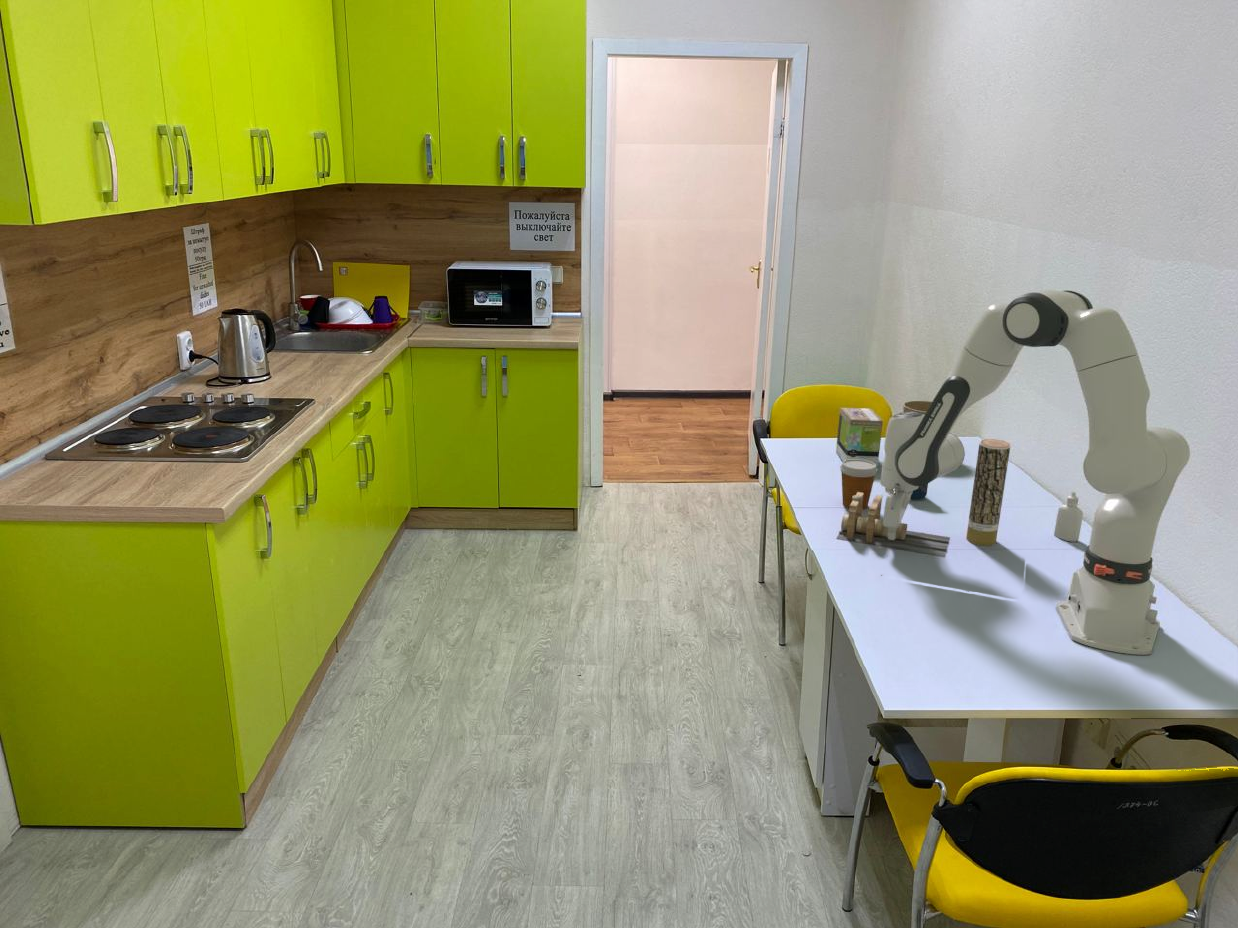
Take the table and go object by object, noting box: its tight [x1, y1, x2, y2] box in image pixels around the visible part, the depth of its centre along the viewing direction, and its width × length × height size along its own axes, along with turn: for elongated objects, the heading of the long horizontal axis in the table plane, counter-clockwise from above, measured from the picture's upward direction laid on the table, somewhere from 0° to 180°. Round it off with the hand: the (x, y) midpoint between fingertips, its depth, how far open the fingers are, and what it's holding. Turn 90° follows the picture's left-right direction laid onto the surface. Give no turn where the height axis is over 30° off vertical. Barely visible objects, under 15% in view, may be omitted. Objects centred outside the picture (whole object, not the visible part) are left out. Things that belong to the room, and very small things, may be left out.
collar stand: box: [835, 492, 951, 558], centre depth 229 cm, size 13×25×10 cm, turn 67°
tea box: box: [835, 407, 884, 468], centre depth 289 cm, size 15×10×15 cm, turn 179°
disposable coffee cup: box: [839, 459, 878, 510], centre depth 250 cm, size 10×10×12 cm
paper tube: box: [965, 438, 1011, 547], centre depth 227 cm, size 7×7×25 cm
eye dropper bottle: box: [1053, 491, 1084, 543], centre depth 232 cm, size 4×6×12 cm
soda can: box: [910, 483, 929, 501], centre depth 258 cm, size 7×7×12 cm
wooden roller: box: [840, 514, 908, 540], centre depth 232 cm, size 15×4×4 cm, turn 67°
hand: (894, 532), depth 230 cm, fingers open, 7 cm apart
